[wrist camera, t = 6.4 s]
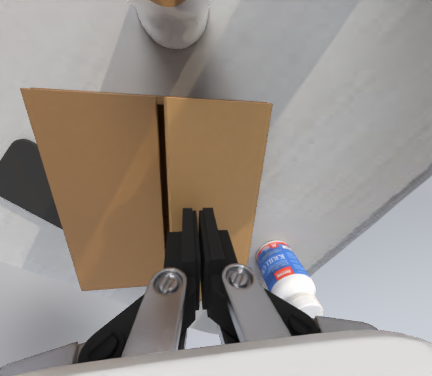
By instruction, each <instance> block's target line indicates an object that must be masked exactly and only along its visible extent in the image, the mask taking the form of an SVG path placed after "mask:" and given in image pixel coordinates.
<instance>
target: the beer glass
mask: <svg viewBox="0 0 432 376" xmlns="http://www.w3.org/2000/svg"><path fill="white" fill-rule="evenodd" d="M126 1H127V2H128V3H129V4H130V5H132V6H133V7H134V8H135V9H136V11H137V14H138V17H139V19H140V22H141V24H142V26H143V27H144V29H145V31H146V32H147V33H148V35H149V36H150V37H151V38H152V39H153V40H154V41H156V42H157V43H158V44H160V45H162V46H164V47H166V48H170V49H184V48H187V47H189V46H191V45H192V44H194V43H195V42H196V41H197V40H198V39H199V38H200V37H201V35H202V33H203V31H204V29H205V27H206V24H207V20H208V12H209V6H210V4H211V3H212V2H213V1H214V0H126Z"/></svg>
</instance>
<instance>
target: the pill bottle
mask: <svg viewBox="0 0 432 376" xmlns="http://www.w3.org/2000/svg"><path fill="white" fill-rule="evenodd" d="M256 260H257V263H258V265H259V268H260V270H261V273H262V275H263V277H264V280H265V282H266V285H267V287H268V290H269V291H270V292H271V293H273V294H275V295H276V296H278V297H280V298H281V299H283V300H285V301H286V302H288V303H290V304H291V305H293V306H295V307H296V308H298V309H300V310H301V311H303V312H305V313H306V314H307V315H309V316H310V317H311V318H315V316H322V315H323V309H322V307H321V305H320V303H319V302H318V300H317V299H316V297H315V292H316V289H315V285H314V283H313V281H312V280H311V278H310V277H309V275H308V274H307V272H306V271H305V269H304V268H303V266H302V265H301V263H300V262H299V260H298V259H297V257H296V256H295V254H294V253H293V251H292V250H291V248H290V247H289V246H288V245H287V244H286V243H285V242H283V241H278V240H275V241H270V242H268V243H266V244H264V245H263V246H262V247H261V248H260V249H259V250H258V252H257V255H256Z"/></svg>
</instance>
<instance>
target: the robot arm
mask: <svg viewBox="0 0 432 376" xmlns="http://www.w3.org/2000/svg"><path fill="white" fill-rule="evenodd" d="M200 283H201V295H202V307H203V310H205V309H207V315H208V317H210V318H211V319H212V320H213V321H214V322H216V323H217V329H218V333H219V337H220V340H221V344H222V345H216V346H208V347H200V348H192V349H185V345H186V338H187V328H188V327H189V326H190V325H191V324H192V323H193V322H194V320H195V310H199V300H200ZM0 376H432V343H431V342H428V341H425V340H423V339H419V338H416V337H413V336H409V335H405V334H402V333H396V332H390V331H384V330H378V329H377V328H375V327H373V326H372V325H370V324H367V323H364V322H358V321H351V320H343V319H336V318H329V317H322V316H315V318H311V317H310V316H309V315H307V314H306V313H305V312H303V311H301V310H300V309H298V308H296V307H295V306H293V305H291V304H290V303H288V302H286V301H285V300H283V299H281V298H280V297H278V296H276V295H275V294H273V293H271V292H270V291H268V290H266V289H265V288H263V286H262V284H261V283H260V281H259V279H258V278H257V276H256V274H255V273H254V271H253V270H252V269H251V268H249V267H248V266H246V265H244V264H239V263H238V261H237V258H236V255H235V252H234V248H233V245H232V242H231V239H230V236H229V233H228V230H218V228H217V223H216V219H215V215H214V211H213V208H212V207H211V208H203V210H199V232H198V224H197V213H196V210H192V208H183V213H182V231H180V232H168V236H167V243H166V251H165V259H164V266H163V269H161V270H159V271H158V272H156V273H155V274H154V275H153V276H152V278H151V280H150V282H149V284H148V287H147V290H146V292H145V294H144V295H143V296H141V297H140V298H139V299H138V300H136V301H135V302H134V303H133V304H131V305H130V306H129V307H128V308H126V309H125V310H124V311H123V312H121V313H120V314H119V315H118V316H116V317H115V318H114V319H112V320H111V321H110V322H109V323H107V324H106V325H105V326H104V327H102V328H101V329H100V330H99V331H97V332H96V333H95V334H94V335H93V336H92V337H91V338H90V339H88V340H87V342H85V343H82V344H78V342H75V343H71V344H68V345H65V346H62V347H59V348H56V349H53V350H50V351H47V352H44V353H41V354H38V355H34V356H31V357H28V358H25V359H22V360H19V361H16V362H13V363H10V364H7V365H5V366H3V367H1V368H0Z"/></svg>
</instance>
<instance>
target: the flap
mask: <svg viewBox="0 0 432 376" xmlns="http://www.w3.org/2000/svg"><path fill="white" fill-rule="evenodd" d="M272 105H273V104H272V103H256V102H240V101H223V100H207V99H191V98H175V97H164V119H165V141H166V163H167V185H168V207H169V229H170V232H180V231H182V213H183V208H192V210H196V213H197V224H198V232H199V210H203V208H211V207H212V208H213V211H214V215H215V219H216V223H217V228H218V230H228V233H229V236H230V239H231V242H232V245H233V248H234V252H235V255H236V258H237V261H238V263H239V264H244V265H246V266H247V264H248V258H249V251H250V245H251V238H252V232H253V226H254V219H255V213H256V207H257V200H258V194H259V188H260V181H261V175H262V169H263V162H264V156H265V149H266V143H267V137H268V130H269V124H270V118H271V111H272ZM201 300H202V295H201V283H200V300H199V301H201Z"/></svg>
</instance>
